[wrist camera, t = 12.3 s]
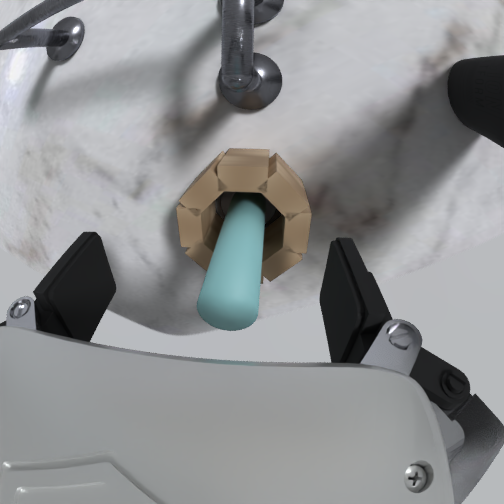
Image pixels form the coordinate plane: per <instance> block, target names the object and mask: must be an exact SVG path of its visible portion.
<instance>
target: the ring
mask: <svg viewBox="0 0 504 504" xmlns="http://www.w3.org/2000/svg"><path fill="white" fill-rule="evenodd" d="M224 191H231V192H259V193H262V194H263V195H264V196H265V197H266V198H267V199H268V200H269V201H270V202H271V203H272V204H273V205H274V206H275V207H276V208H277V209H278V210H279V211H280V212H281V213H282V216H280V217H279V218H278V219H277V220H275V221H274V222H273V223H271V224H270V225H269V226H268V227H266V228H265V229H264V241H263V254H262V268H261V281H260V284H263V276H264V277H265V278H266V279H268V280H269V281H270V282H271V281H272V280H273V279H275V278H276V277H278V276H279V275H281V274H282V273H284V272H285V271H287V270H288V269H289V268H291V267H292V266H294V265H295V264H297V263H298V262H300V261H301V260H302V254H301V253H306V252H307V245H308V238H309V231H310V223H311V215H312V213H311V209H310V206H309V202H308V198H307V195H306V191H305V188H304V185H303V182H302V180H301V179H300V178H299V177H298V175H297V174H296V173H295V172H294V171H293V170H292V169H291V168H290V167H289V166H288V165H287V164H286V163H285V161H284V160H283V159H282V158H281V157H280V156H279V155H278V154H277V153H275V154H274V155H273V156H272V157H271V158H269V150H267V149H229V150H228V151H227V153H226V154H225V153H224V152H223V151H222V152H221V153H220V154H219V155H218V156H217V157H216V158H215V159H214V160H213V161H212V162H211V163H210V164H209V165H208V166H207V167H206V168H205V169H204V170H203V171H202V172H201V173H200V174H199V175H198V176H197V178H196V179H195V180H194V181H193V183H192V184H191V185H190V187H189V188H188V189H187V190H186V192H185V193H184V194H183V196H182V197H181V198H180V200H179V202H180V204H179V205H178V206H177V208H176V211H177V219H178V227H179V235H180V243H181V247H188V248H187V250H186V252H185V254H186V255H188V256H189V257H190V258H191V259H192V260H194V261H195V262H196V263H197V264H198V265H200V266H201V267H202V268H203V269H205V270H206V271H207V270H208V267H209V264H210V261H211V258H212V255H213V252H214V249H215V246H216V243H217V240H218V237H219V234H220V231H221V228H222V226H223V223H224V220H223V219H222V218H221V217H220V216H219V215H218V214H217V213H216V204H215V199H216V198H218V197H219V196H220V195H221V194H222V193H223V192H224Z"/></svg>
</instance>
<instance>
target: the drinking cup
mask: <svg viewBox="0 0 504 504" xmlns="http://www.w3.org/2000/svg"><path fill="white" fill-rule="evenodd" d="M448 94H449V99H450V103H451V106H452V108H453V110H454V112H455V114H456V115H457V117H458V118H459V120H460V121H461V122H462V123H463V124H464V125H466V126H467V127H469V128H470V129H472V130H474V131H476V132H478V133H480V134H481V135H483V136H485V137H486V138H488V139H490V140H492V141H493V142H495V143H496V144H498V145H500V146H501V147H503V148H504V55H502V56H489V57H480V58H471V59H464V60H461V61H459V62H457V63H456V64H455V65H454V66H453V68H452V69H451V72H450V74H449V79H448Z"/></svg>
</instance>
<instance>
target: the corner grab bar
mask: <svg viewBox="0 0 504 504" xmlns="http://www.w3.org/2000/svg"><path fill="white" fill-rule="evenodd" d="M81 1H84V0H45V1H43V2H42V3H40V4H38V5H37V6H35V7H33V8H32V9H30V10H29V11H27V12H26V13H24V14H23V15H21V16H20V17H18V18H17V19H16V20H14V21H13V22H11V23H10V24H9V25H7V26H6V27H5V28H3V29H2V30H1V31H0V50H5V49H15V48H28V47H46V49H47V54H48V56H49V57H50V58H51V59H52V60H55V61H59V60H65V59H68V58H69V57H71V56H72V55H73V54H74V53H75V52H76V51H77V49H78V48H79V46H80V45H81V43H82V40H83V37H84V24H83V22H82V21H81V20H80V19H79V18H76V17H67V18H64V19H62V20H61V21H59V22H58V23H57V24H56V25H55V26H54V27H53V29H30V28H31V27H33V26H34V25H36V24H38V23H40V22H41V21H43V20H45V19H47V18H49V17H50V16H52V15H54V14H56V13H58V12H60V11H62V10H64V9H66V8H68V7H70V6H72V5H75V4H77V3H79V2H81ZM283 3H284V0H221V4H222V7H223V9H222V57H221V68H220V71H219V82H220V88H221V91H222V93H223V95H224V97H225V98H226V99H227V100H228V101H229V102H230V103H231V104H233V105H235V106H237V107H239V108H242V109H249V110H252V109H259V108H262V107H265V106H267V105H269V104H270V103H271V102H273V101H274V100H275V99H276V97H277V96H278V94H279V93H280V90H281V87H282V75H281V72H280V69H279V67H278V66H277V65H276V63H275V62H274V61H273V60H271V59H270V58H269V57H267V56H265V55H262V54H259V53H253V42H254V24H258V23H263V22H266V21H269V20H271V19H272V18H274V17H275V16H276V15H277V14H278V13H279V12H280V11H281V9H282V7H283Z"/></svg>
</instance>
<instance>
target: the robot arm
mask: <svg viewBox="0 0 504 504" xmlns="http://www.w3.org/2000/svg"><path fill="white" fill-rule="evenodd" d="M115 292H116V284H115V281H114V278H113V275H112V272H111V269H110V266H109V263H108V260H107V256H106V253H105V250H104V246H103V243H102V239H101V237H100V236H99V235H98V234H97V233H96V232H83V233H82V234H81V235H80V236H79V237H78V238H77V240H76V241H75V242H74V243H73V244H72V245H71V246H70V247H69V248H68V250H67V251H66V252H65V253H64V254H63V255H62V256H61V258H60V259H59V260H58V261H57V262H56V264H55V265H54V266H53V267H52V268H51V270H50V271H49V272H48V273H47V275H46V276H45V277H44V278H43V280H42V281H41V282H40V284H39V285H38V286H37V287H36V289H35V290H34V291H33V293H34V295H35V296H36V298H37V299H36V300H35V301H34V300H33V299H32V298H31V297H29V296H26V297H25V296H24V297H21V298H19V299H17V300H16V301H14V302H13V303H12V304H11V306H10V307H9V309H8V311H7V320H6V321H4V322H2V323H1V324H0V504H461V503H462V502H463V501H464V500H465V498H466V497H467V496H468V495H469V493H470V492H471V491H472V490H473V488H474V487H475V486H476V485H477V483H478V482H479V480H480V479H481V478H482V476H483V475H484V474H485V472H486V471H487V469H488V468H489V466H490V465H491V463H492V462H493V460H494V459H495V457H496V456H497V454H498V453H499V451H500V449H501V448H502V446H503V444H504V426H503V424H502V423H501V422H500V420H499V419H498V418H497V417H496V416H495V415H494V414H493V413H492V411H491V410H490V409H489V408H488V407H487V406H486V405H485V404H484V402H483V401H482V400H481V399H480V398H479V397H478V396H477V395H476V394H474V395H473V396H472V395H471V394H470V384H469V381H468V378H467V377H466V376H465V374H464V373H463V372H461V371H460V370H459V369H457V368H455V367H454V366H452V365H450V364H449V363H447V362H445V361H444V360H442V359H440V358H439V357H437V356H435V355H434V354H432V353H430V352H429V351H427V350H425V349H424V348H422V347H421V345H422V336H421V334H420V332H419V330H418V329H417V328H416V327H415V326H414V325H413V324H411V323H410V322H407V321H405V320H401V319H394V320H393V319H392V317H391V314H390V312H389V310H388V307H387V305H386V303H385V300H384V298H383V296H382V294H381V292H380V289H379V287H378V285H377V283H376V280H375V278H374V276H373V274H372V273H371V272H368V271H367V269H366V267H365V265H364V262H363V260H362V258H361V256H360V254H359V252H358V250H357V248H356V246H355V244H354V242H353V240H352V238H336V240H335V241H332V242H331V244H330V249H329V254H328V259H327V264H326V269H325V274H324V278H323V283H322V288H321V292H320V306H321V311H322V315H323V320H324V325H325V330H326V336H327V341H328V346H329V351H330V356H331V362H332V363H321V362H320V363H286V362H285V363H284V362H248V361H230V360H216V359H203V358H192V357H182V356H173V355H165V354H157V353H150V352H142V351H135V350H129V349H123V348H117V347H112V346H106V345H101V344H96V343H91V342H90V340H91V338H92V336H93V334H94V332H95V330H96V328H97V326H98V324H99V322H100V320H101V318H102V316H103V314H104V313H105V311H106V309H107V307H108V305H109V303H110V301H111V299H112V298H113V296H114V294H115Z"/></svg>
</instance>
